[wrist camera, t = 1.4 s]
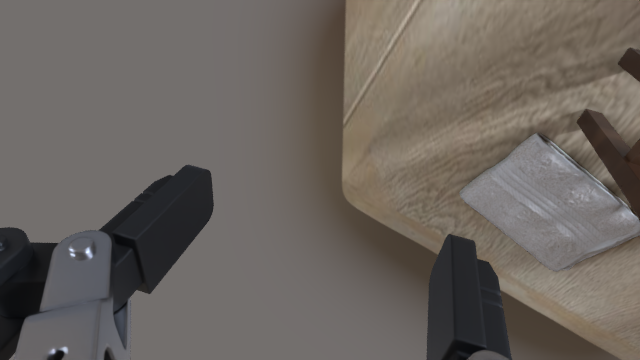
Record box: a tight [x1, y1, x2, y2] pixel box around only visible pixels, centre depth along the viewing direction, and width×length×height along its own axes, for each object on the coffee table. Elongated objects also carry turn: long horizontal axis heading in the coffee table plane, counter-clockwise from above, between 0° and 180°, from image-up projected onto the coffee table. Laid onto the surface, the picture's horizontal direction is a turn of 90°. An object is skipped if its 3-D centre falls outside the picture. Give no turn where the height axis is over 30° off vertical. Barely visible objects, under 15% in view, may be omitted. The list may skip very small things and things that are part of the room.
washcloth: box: [459, 133, 640, 271], centre depth 44 cm, size 12×18×3 cm, turn 57°
